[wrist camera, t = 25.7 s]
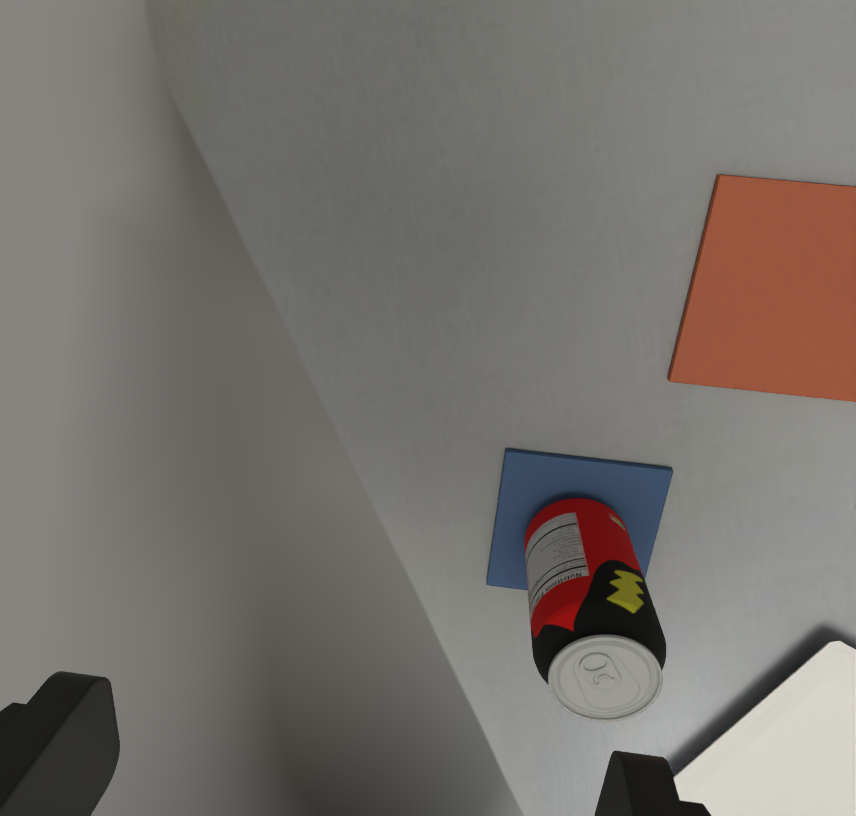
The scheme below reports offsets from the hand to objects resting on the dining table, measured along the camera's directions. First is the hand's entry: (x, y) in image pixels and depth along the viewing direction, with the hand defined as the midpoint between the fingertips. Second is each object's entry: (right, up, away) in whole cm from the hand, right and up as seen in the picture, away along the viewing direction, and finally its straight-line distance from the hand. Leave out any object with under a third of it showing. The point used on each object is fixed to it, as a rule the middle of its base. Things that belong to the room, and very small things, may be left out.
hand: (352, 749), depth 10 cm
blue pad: (+11, -2, +30) cm, 32 cm away
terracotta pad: (+21, +11, +24) cm, 34 cm away
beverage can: (+10, -2, +30) cm, 32 cm away
